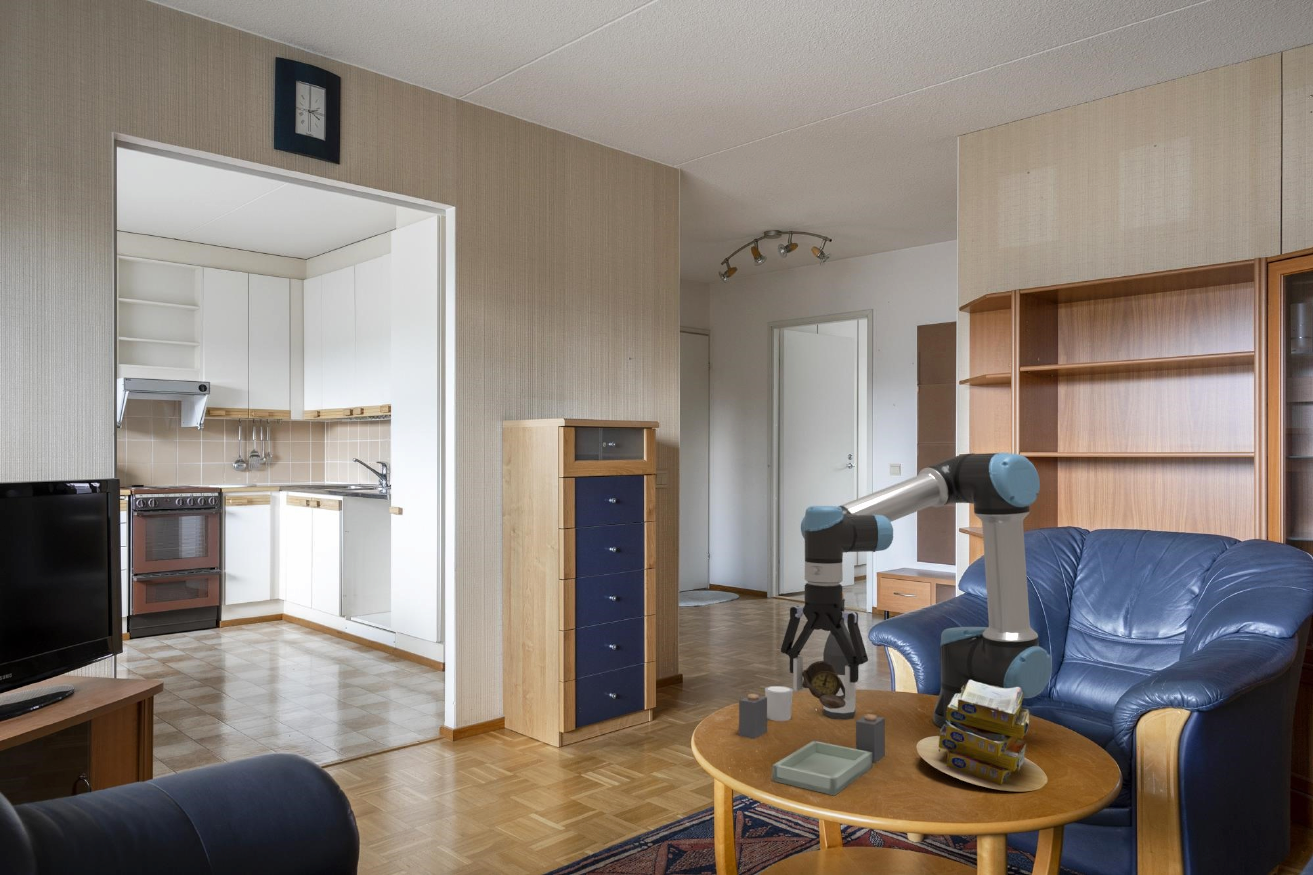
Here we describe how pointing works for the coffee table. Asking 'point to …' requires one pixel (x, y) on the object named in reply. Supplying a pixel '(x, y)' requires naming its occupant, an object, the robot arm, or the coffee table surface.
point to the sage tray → (822, 767)
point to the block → (871, 736)
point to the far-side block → (752, 716)
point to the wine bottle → (839, 674)
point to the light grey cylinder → (779, 702)
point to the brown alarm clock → (824, 684)
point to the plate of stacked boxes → (985, 740)
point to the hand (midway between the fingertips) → (823, 694)
